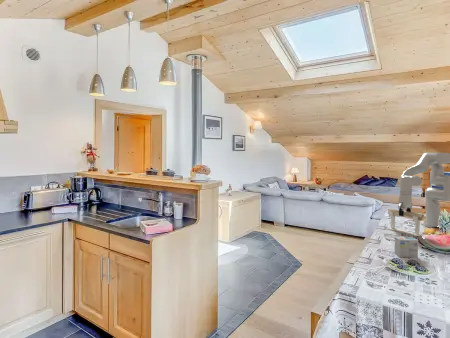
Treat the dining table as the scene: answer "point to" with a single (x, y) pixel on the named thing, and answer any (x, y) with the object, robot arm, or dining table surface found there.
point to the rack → (417, 229)
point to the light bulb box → (406, 247)
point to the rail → (407, 214)
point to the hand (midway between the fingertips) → (404, 215)
